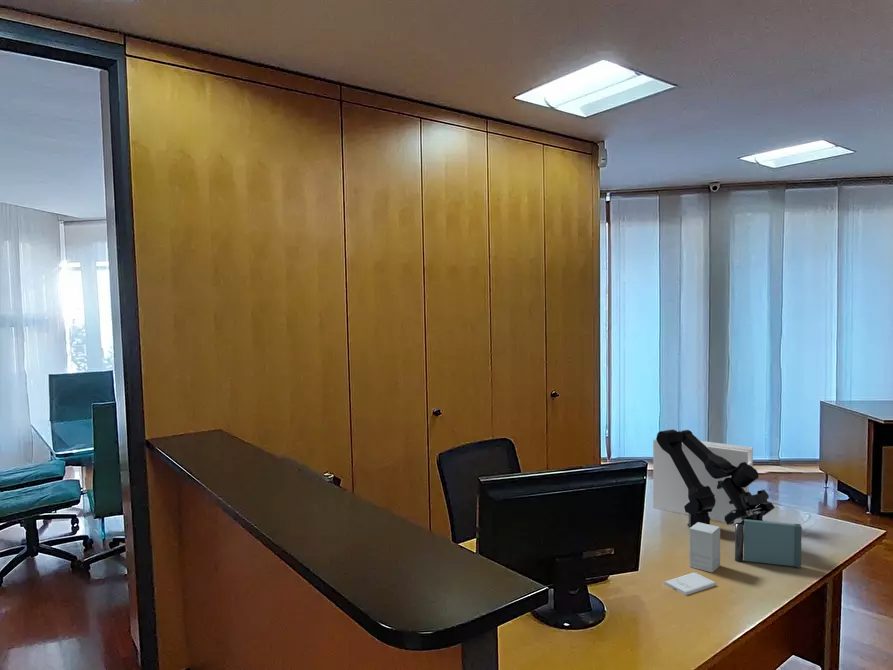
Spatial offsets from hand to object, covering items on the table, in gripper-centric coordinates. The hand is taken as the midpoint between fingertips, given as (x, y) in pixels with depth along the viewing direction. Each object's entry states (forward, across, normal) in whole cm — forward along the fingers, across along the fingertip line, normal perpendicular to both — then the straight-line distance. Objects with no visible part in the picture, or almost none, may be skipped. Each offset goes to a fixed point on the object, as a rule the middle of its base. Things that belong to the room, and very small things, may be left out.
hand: (764, 536), depth 209 cm
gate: (+8, -5, 0) cm, 9 cm away
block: (-21, +13, +31) cm, 40 cm away
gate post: (+4, -11, +5) cm, 13 cm away
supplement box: (+2, -24, +7) cm, 25 cm away
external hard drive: (+7, -38, +2) cm, 39 cm away
